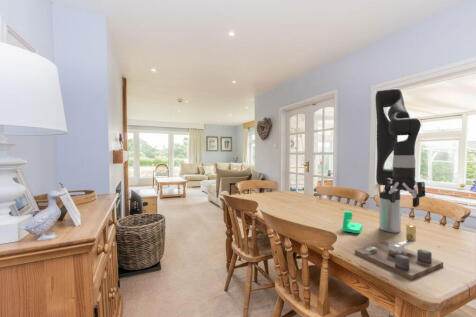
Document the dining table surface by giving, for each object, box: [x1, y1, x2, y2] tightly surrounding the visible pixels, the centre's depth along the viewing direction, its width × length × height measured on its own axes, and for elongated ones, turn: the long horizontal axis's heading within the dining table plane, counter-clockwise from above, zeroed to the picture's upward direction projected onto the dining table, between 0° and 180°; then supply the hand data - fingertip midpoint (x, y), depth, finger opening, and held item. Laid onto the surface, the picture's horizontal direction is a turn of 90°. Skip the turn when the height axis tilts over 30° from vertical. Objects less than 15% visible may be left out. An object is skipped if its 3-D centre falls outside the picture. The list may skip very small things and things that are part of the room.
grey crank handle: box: [388, 224, 417, 257], centre depth 87 cm, size 14×5×10 cm, turn 114°
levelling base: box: [354, 241, 444, 281], centre depth 85 cm, size 20×21×5 cm
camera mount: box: [342, 210, 363, 234], centre depth 117 cm, size 12×8×10 cm, turn 142°
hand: (403, 204), depth 91 cm, fingers open, 8 cm apart
